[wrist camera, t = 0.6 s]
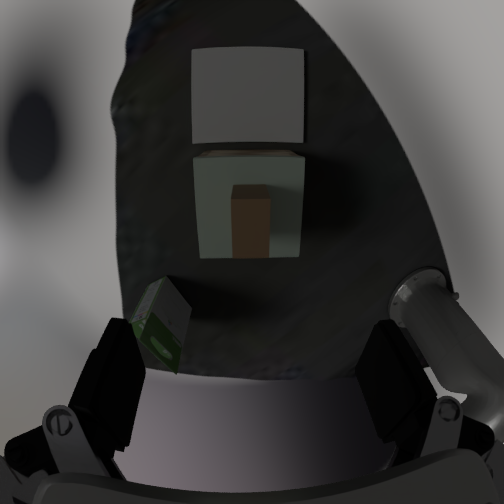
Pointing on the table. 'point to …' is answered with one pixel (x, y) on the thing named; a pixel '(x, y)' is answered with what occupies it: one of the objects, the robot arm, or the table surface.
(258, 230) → the lid
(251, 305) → the table surface
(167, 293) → the ink box
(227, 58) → the felt mat
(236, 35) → the table surface
